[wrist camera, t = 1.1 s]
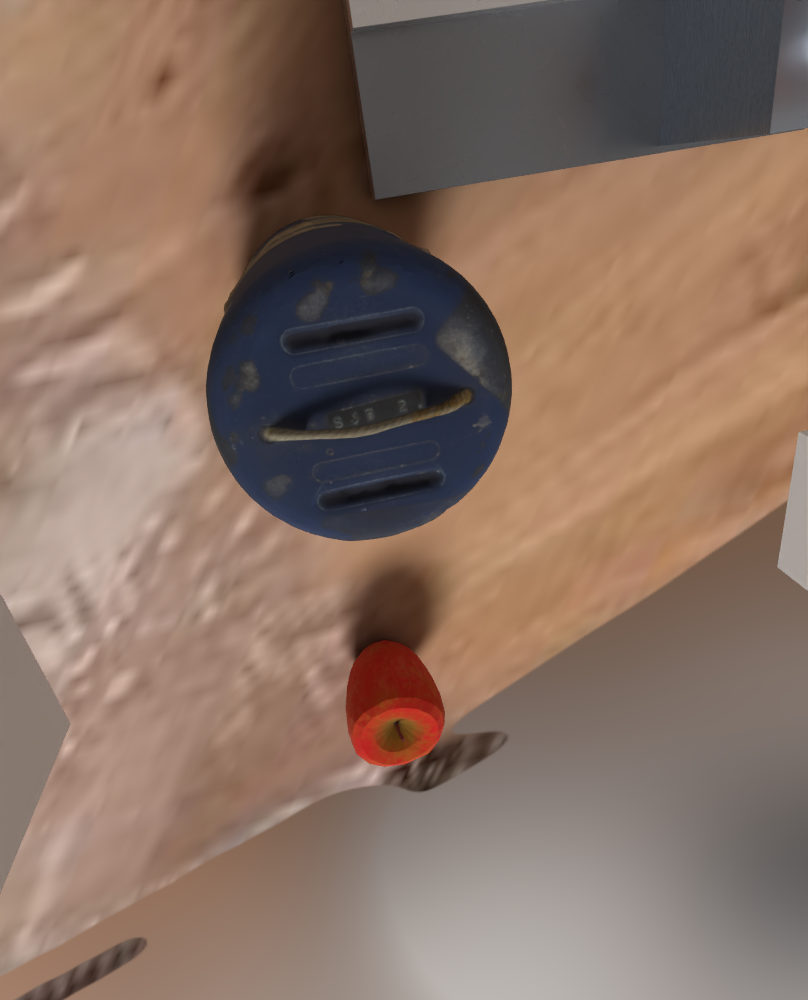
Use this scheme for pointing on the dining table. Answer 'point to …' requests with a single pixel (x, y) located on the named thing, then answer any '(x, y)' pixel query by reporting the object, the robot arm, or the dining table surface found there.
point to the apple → (392, 705)
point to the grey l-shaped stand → (565, 82)
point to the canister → (356, 381)
